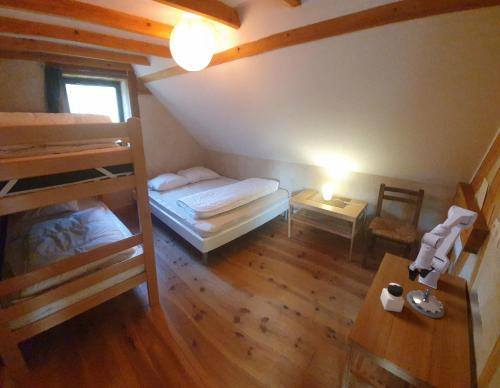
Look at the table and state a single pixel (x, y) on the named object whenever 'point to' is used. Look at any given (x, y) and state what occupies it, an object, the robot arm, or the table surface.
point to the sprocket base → (423, 311)
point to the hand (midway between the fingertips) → (416, 278)
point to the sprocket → (426, 301)
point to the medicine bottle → (392, 297)
